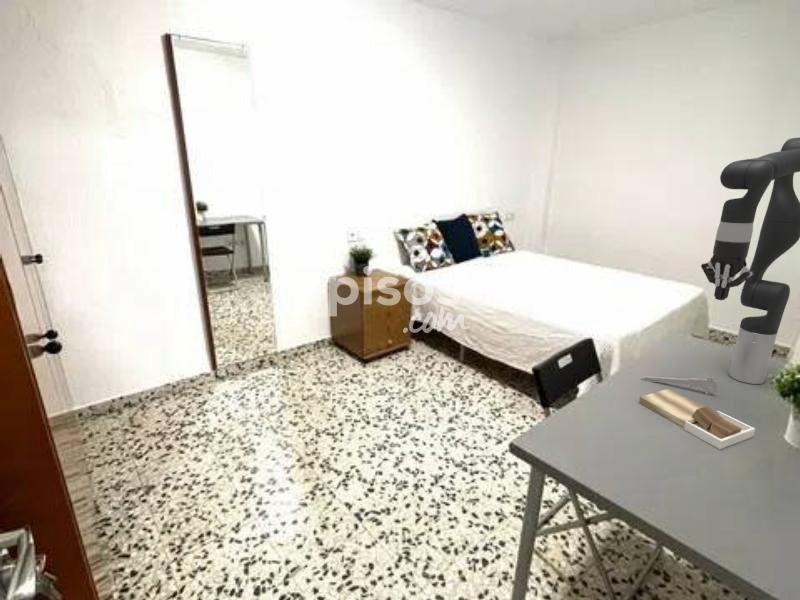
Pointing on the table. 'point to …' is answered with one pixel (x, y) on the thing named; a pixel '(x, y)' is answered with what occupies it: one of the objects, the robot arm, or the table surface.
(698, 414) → the brown square block
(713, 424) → the tile front
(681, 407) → the beige square panel
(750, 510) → the table surface
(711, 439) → the tray
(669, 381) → the caliper
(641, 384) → the table surface
